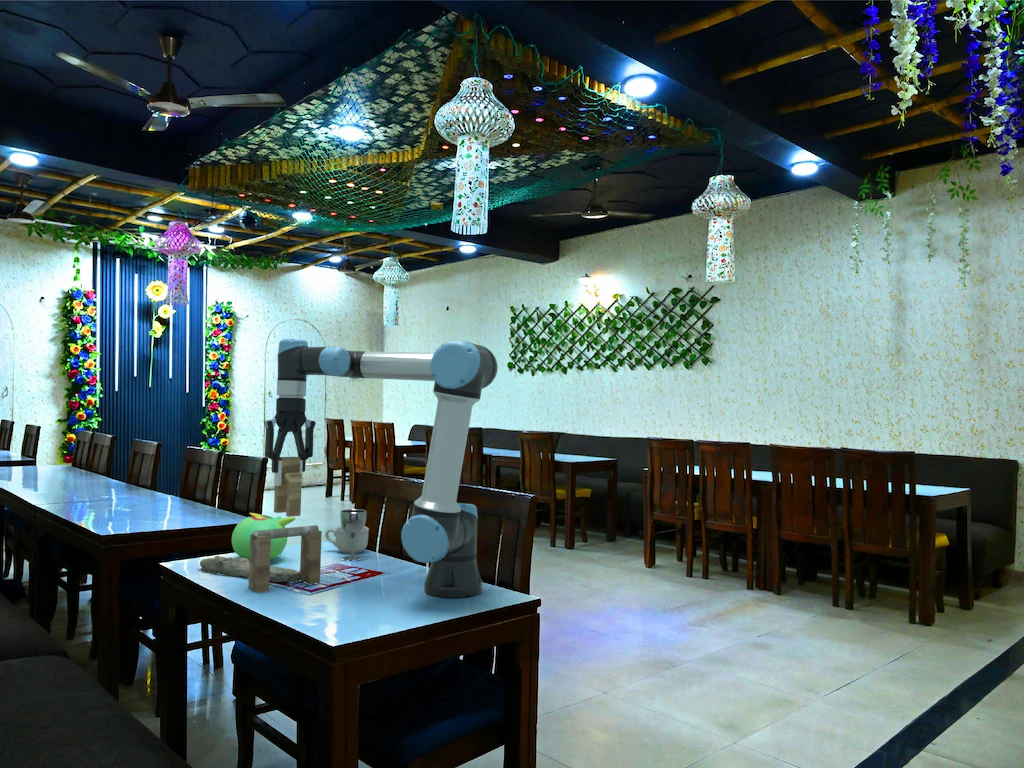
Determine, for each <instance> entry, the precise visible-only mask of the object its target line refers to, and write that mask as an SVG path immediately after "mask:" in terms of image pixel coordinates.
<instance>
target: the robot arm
mask: <svg viewBox="0 0 1024 768" xmlns="http://www.w3.org/2000/svg"><path fill="white" fill-rule="evenodd" d="M277 351H278V352H277V354H276V355H277V378H276V379H277V380H276V395H277V396H278V397H277V398H276V399H275V400H276V403H275V415H274V417H273V418H271V419H269V420H268V419H266V420H264V421H263V424H264V427H265V443H264V458H266V459H269V460H270V461H271V473H273V474H274V481H273V483H274V484H273V485H274V486H275V485H277V486H281V476H282V461H280V460H279V458H280V457H281V454H282V451H283V448H284V447H283V446H284V443H285V440H286V436H287V435H288V433H292V435H293V438H294V442H295V447H296V451H297V452H296V453H297V457H300V472H299V473H301V474H302V475H303V473H304V472H306V464H307V463H306V462H307V460H308V459H310V458H312V457H313V455H314V429H315V426H316V425H317V423H316V421H315V420H311V419H308V418H307V416H306V408H307V407H306V404H307V400H306V399H305V397H306V396H307V376H327V377H329V376H330V377H339V378H349V379H353V380H354V379H356V380H359V379H373V380H374V379H378V380H399V381H401V380H402V381H403V380H404V381H421V382H422V381H425V382H427V381H428V382H434V383H433V390H432V393H433V395H434V396H435V398H436V399H437V404H436V410H435V417H434V420H433V428H432V434H431V439H430V445H429V451H428V458H427V462H426V469H425V473H424V474H425V475H424V481H423V487H422V492H421V496H419V497H418V498H417V499H416V500H414V502H413V507H412V513H411V517H409V519H407V520H406V522H405V523H404V524H403V527H402V529H401V535H400V536H401V537H400V538H401V539H400V540H401V544H402V546H403V548H404V550H405V551H406V553H407V554H408V556H409V557H410V558H412V559H413V560H414V561H417V562H418V563H423V564H429V563H430V565H429V568H428V572H427V573H426V574H427V575H426V577H425V578H426V579H425V581H424V592H425V593H426V595H427V594H428V595H429V596H434V597H438V596H439V598H449V597H458V598H466V597H465V596H469V597H473V596H472V595H474V596H476V595H475V594H477V595H479V594H481V593H482V592H483V580H482V578H481V574H480V570H479V565H478V563H477V548H478V546H477V544H478V543H477V541H478V519H479V516H478V508H477V506H476V505H475V504H473V503H463V502H462V503H461V502H458V501H457V500H458V492H459V487H460V481H461V474H462V468H463V463H464V458H465V452H466V445H467V439H468V436H469V435H468V434H469V429H470V423H471V416H472V411H473V406H474V405H475V404H476V403H478V402H479V401H480V399H481V396H482V390H483V389H485V388H487V387H488V386H490V385H491V384H492V383H493V382H494V380H495V379H496V376H497V373H498V371H499V370H498V368H499V367H498V361H497V359H496V356H495V355H494V353H493V352H492V351H491V350H490V349H489V348H488V347H486V346H483V345H480V344H476V343H473V342H470V341H467V340H450V341H446V342H444V343H443V344H441V345H439V347H437V348H436V350H435V351H434V352H405V351H404V352H402V351H401V352H400V351H364V350H362V351H361V350H347V349H345V348H344V347H342V346H333V345H330V346H309V344H308V341H307V340H306V339H298V338H282V339H281V340H280V341H279V343H278V350H277ZM276 426H277V427H278V430H277V436H276V439H275V438H274V437H275V427H276ZM303 426H304V427H305V433H304V435H305V436H304V438H303V430H302V428H303ZM274 439H275V441H274ZM274 442H275V443H274ZM481 591H482V592H481ZM480 592H481V593H480ZM478 593H479V594H478Z"/></svg>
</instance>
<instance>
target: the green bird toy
mask: <svg viewBox="0 0 1024 768" xmlns="http://www.w3.org/2000/svg"><path fill="white" fill-rule="evenodd" d="M249 515H251V516H248V517H246V518H244V519H242V520H240V521H239V522H238V523H237V524H236V526H235V528H234V529H233V531H232V534H231V545H232V549H233V550H234V553H235V554H236V555H238V556H239V557H240V559H241V558H247V559H248V560H250V534H253V533H254V531H259V530H270V529H281V528H286V526H287V525H289V524H290V523H292V522H294V521H295V520H296V516H293V517H288V516H287V517H283V518H282V516H276V517H273V516H270V515H266V514H259V513H255V512H249ZM287 542H288V537H284V538H274V539H271V549H270V561H271V560H274V559H276V558H277V557H278V556H279V555H280V554H282V552H283V551H284V550H285V548H286V545H287V544H288V543H287Z"/></svg>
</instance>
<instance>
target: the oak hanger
mask: <svg viewBox="0 0 1024 768" xmlns="http://www.w3.org/2000/svg"><path fill="white" fill-rule="evenodd" d="M279 460H280V461H282V476H281V486H277V485H274V495H273V496H274V499H273V513H275V514H281V513H286V514H285V516H286V517H287V518H288V517H301V514H302V513H301V510H302V508H301V507H302V505H301V504H302V486H303V473H302V474H301V473H299V472H300V457H298V456H280V458H279Z"/></svg>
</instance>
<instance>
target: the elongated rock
mask: <svg viewBox="0 0 1024 768" xmlns="http://www.w3.org/2000/svg"><path fill="white" fill-rule="evenodd" d="M199 567H201V570H204V571H206V570H207V571H206V572H208V571H210V572H215V573H214V574H217V573H219V574H224V575H223V576H230V577H237V578H239V577H241V576H242V577H245V578H247V579H249V560H248V559H247V558H241V557H240V558H237V557H234V558H233V557H225V556H219V555H215V556H214V557H208V558H203V559H201V560H200V561H199ZM210 572H209V573H210ZM219 574H218V575H219ZM238 576H239V577H238ZM299 580H300V571H299V572H298V571H297V570H296V569H291V568H285V567H279V566H273V565H270V577H269V581H271V582H270V583H278V582H295V583H297V582H296V581H299ZM299 582H300V581H299Z"/></svg>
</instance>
